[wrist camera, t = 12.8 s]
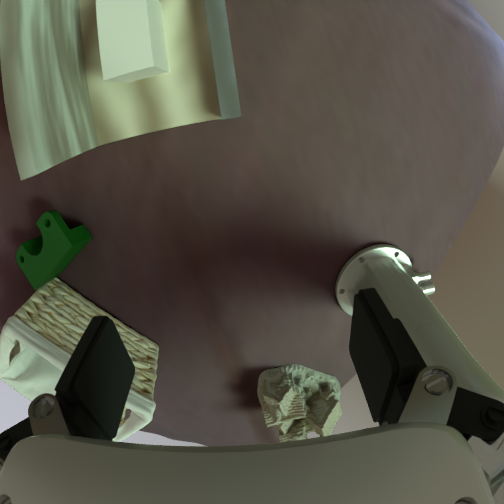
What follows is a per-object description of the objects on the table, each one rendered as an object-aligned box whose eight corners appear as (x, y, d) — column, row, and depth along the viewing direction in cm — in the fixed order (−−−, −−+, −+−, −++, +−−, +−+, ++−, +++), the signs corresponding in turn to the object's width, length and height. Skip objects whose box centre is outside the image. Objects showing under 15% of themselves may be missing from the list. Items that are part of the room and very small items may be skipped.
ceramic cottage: (338, 402, 58) (353, 460, 45) (262, 412, 59) (263, 472, 46) (342, 350, 52) (364, 416, 38) (251, 363, 53) (252, 432, 39)
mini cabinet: (160, -4, 24) (144, -24, 18) (169, 72, 29) (153, 66, 22) (119, 8, 24) (95, -8, 18) (127, 82, 29) (103, 80, 23)
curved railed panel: (217, -47, 22) (208, -112, 9) (240, 115, 32) (244, 124, 20) (69, -4, 22) (3, -32, 10) (88, 148, 33) (21, 180, 20)
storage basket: (171, 346, 48) (157, 421, 35) (129, 386, 53) (113, 448, 40) (49, 262, 40) (0, 322, 27) (26, 318, 45) (-9, 374, 32)
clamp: (79, 205, 41) (57, 198, 32) (100, 237, 42) (82, 236, 33) (27, 254, 39) (-2, 258, 30) (47, 285, 40) (21, 295, 31)
